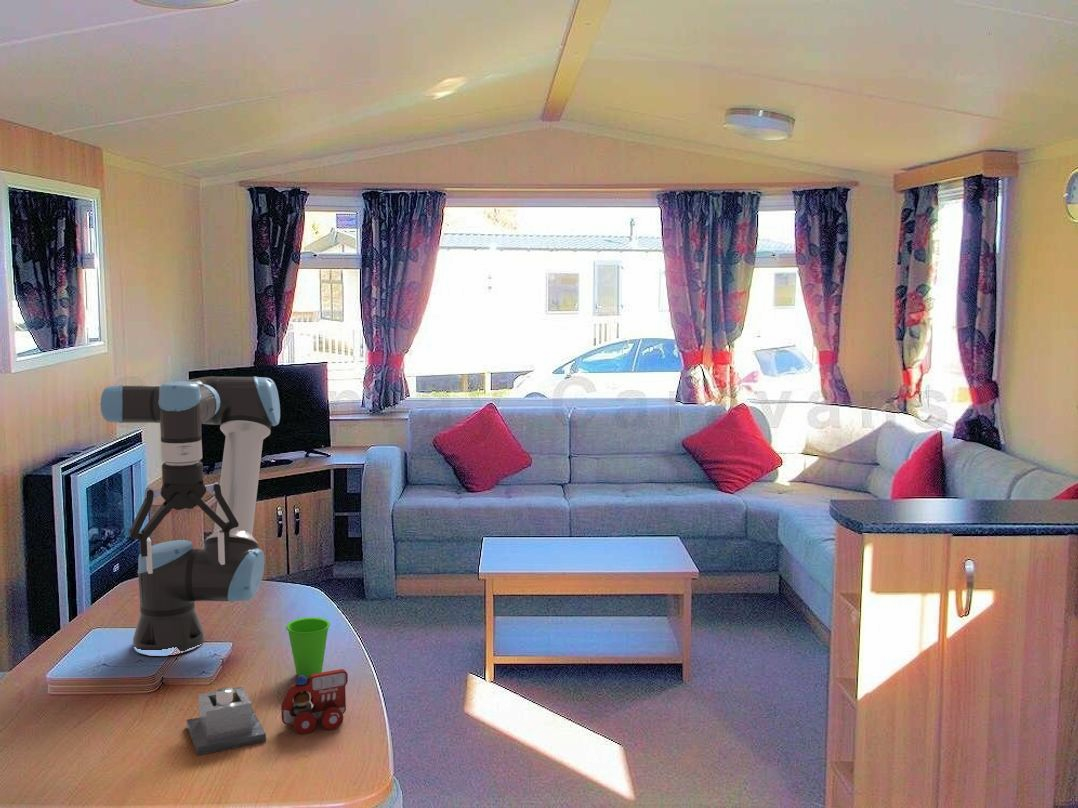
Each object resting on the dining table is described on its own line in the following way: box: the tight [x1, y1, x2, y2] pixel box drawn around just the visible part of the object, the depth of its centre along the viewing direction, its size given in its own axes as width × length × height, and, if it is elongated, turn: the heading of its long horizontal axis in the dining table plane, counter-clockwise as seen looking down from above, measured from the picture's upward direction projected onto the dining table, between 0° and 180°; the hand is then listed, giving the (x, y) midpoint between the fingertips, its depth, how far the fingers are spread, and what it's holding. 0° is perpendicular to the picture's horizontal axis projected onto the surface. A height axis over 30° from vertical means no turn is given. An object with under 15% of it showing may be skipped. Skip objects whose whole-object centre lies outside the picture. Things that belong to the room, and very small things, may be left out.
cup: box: [285, 616, 331, 680], centre depth 215 cm, size 9×9×11 cm
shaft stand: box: [186, 686, 267, 756], centre depth 188 cm, size 12×12×8 cm
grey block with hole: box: [198, 686, 253, 740], centre depth 188 cm, size 8×8×6 cm
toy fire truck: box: [280, 668, 349, 735], centre depth 193 cm, size 7×12×10 cm, turn 112°
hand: (186, 567), depth 201 cm, fingers open, 13 cm apart
